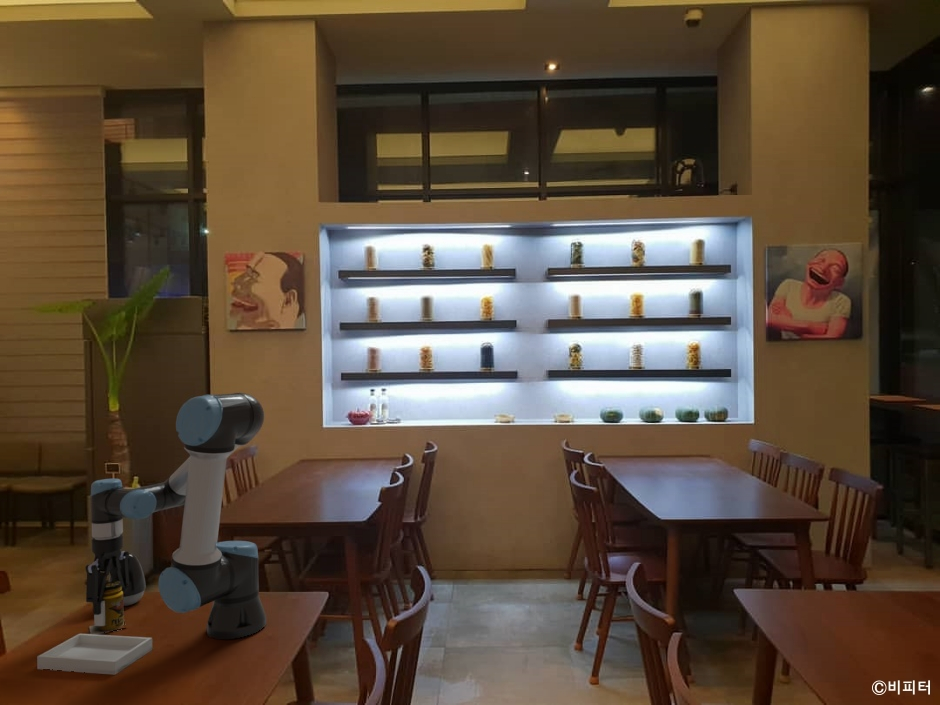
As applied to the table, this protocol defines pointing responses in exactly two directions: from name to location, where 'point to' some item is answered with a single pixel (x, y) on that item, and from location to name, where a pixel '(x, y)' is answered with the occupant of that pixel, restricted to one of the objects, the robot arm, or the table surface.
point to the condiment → (111, 608)
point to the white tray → (95, 653)
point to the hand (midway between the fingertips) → (109, 620)
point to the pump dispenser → (133, 581)
